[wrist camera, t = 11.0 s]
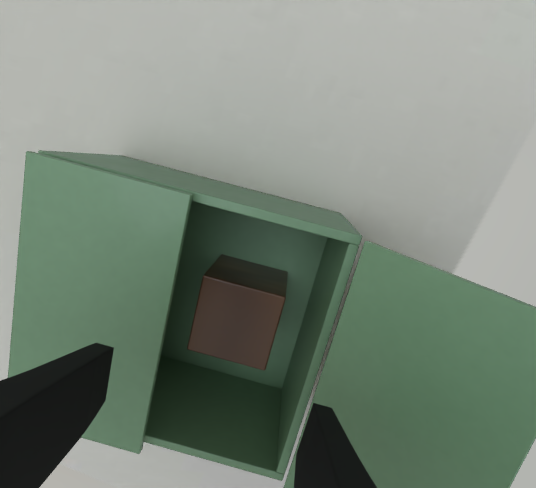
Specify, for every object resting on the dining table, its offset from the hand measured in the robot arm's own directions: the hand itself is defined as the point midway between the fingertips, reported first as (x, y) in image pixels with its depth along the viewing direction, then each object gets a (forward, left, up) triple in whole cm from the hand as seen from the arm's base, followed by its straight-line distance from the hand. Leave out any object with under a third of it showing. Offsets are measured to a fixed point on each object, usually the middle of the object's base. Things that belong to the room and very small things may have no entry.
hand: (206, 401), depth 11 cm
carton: (+2, +2, -10) cm, 10 cm away
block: (0, 0, -10) cm, 10 cm away
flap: (-5, -4, -1) cm, 6 cm away
